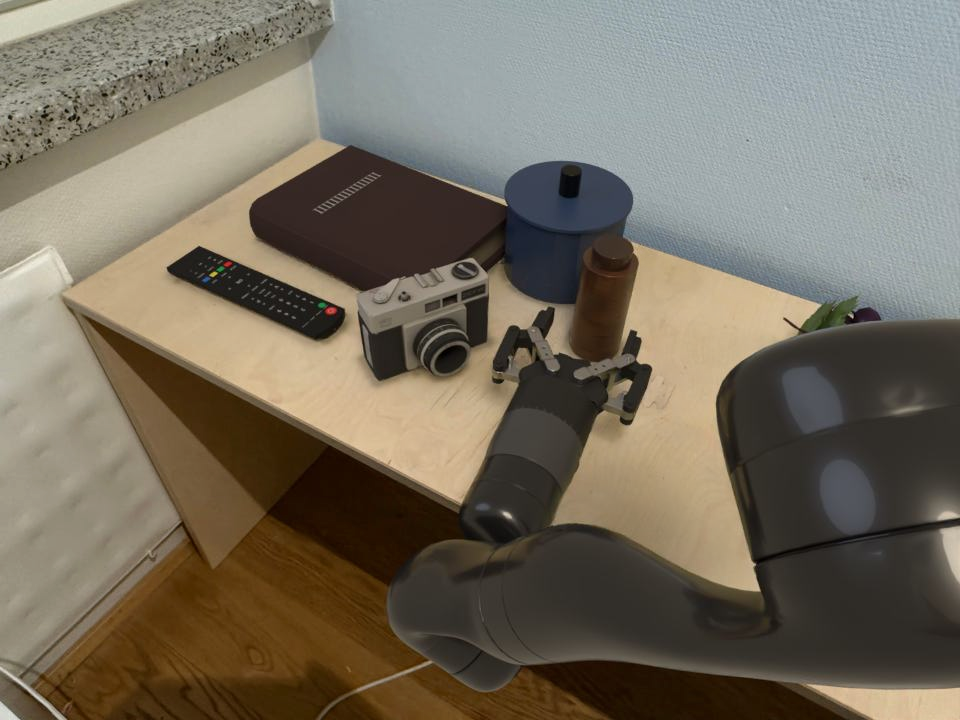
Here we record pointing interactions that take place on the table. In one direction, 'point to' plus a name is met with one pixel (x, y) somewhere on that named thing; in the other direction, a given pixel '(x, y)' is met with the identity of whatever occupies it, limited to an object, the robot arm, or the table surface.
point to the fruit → (836, 316)
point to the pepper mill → (603, 298)
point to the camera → (425, 320)
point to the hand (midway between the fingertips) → (591, 324)
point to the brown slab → (378, 220)
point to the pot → (547, 259)
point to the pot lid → (568, 197)
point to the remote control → (259, 293)
